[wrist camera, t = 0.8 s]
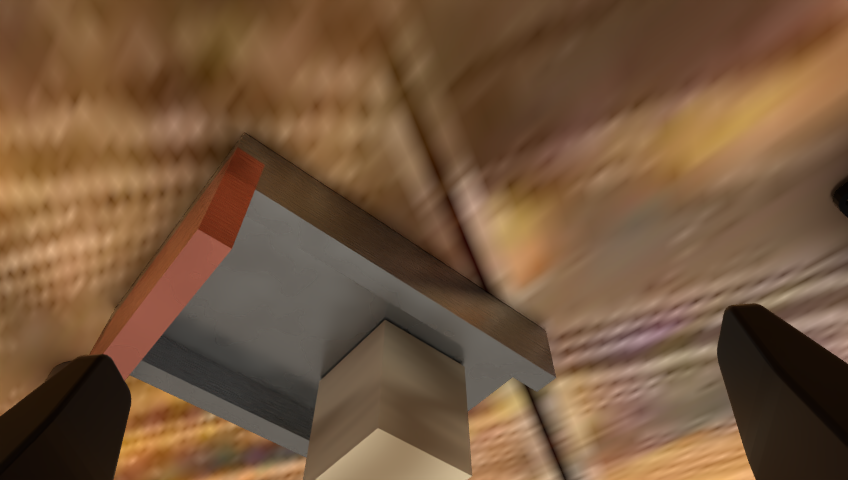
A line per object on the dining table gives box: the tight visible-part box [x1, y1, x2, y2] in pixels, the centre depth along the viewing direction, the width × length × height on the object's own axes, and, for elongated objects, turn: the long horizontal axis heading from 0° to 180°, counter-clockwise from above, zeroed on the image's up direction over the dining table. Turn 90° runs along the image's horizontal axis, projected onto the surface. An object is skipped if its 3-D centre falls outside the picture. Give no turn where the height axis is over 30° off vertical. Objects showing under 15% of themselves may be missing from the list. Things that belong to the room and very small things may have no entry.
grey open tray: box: [89, 133, 556, 458], centre depth 24 cm, size 14×10×6 cm
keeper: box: [303, 320, 472, 480], centre depth 25 cm, size 4×4×5 cm
